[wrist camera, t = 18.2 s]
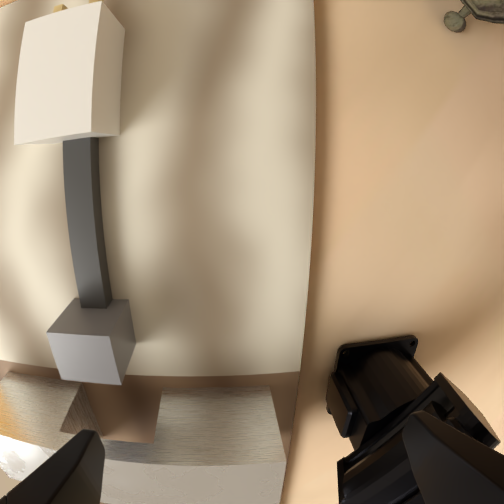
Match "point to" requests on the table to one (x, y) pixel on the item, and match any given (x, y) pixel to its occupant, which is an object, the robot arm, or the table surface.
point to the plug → (79, 172)
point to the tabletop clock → (475, 13)
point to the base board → (176, 205)
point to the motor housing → (165, 442)
